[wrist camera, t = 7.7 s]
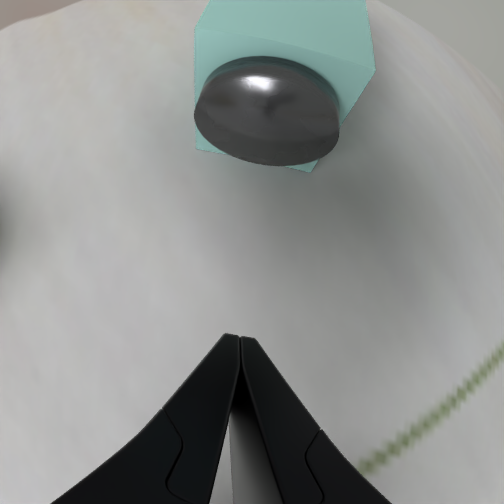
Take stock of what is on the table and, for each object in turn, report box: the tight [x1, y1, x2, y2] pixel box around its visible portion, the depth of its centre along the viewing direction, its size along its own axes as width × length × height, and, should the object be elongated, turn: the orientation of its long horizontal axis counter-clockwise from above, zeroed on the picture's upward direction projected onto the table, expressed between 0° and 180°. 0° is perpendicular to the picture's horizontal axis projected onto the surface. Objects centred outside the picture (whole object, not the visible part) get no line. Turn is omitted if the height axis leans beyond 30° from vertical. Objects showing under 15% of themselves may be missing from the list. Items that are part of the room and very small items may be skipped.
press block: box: [194, 0, 376, 173], centre depth 18 cm, size 12×8×10 cm, turn 170°
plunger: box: [194, 56, 340, 166], centre depth 16 cm, size 12×7×7 cm, turn 170°
